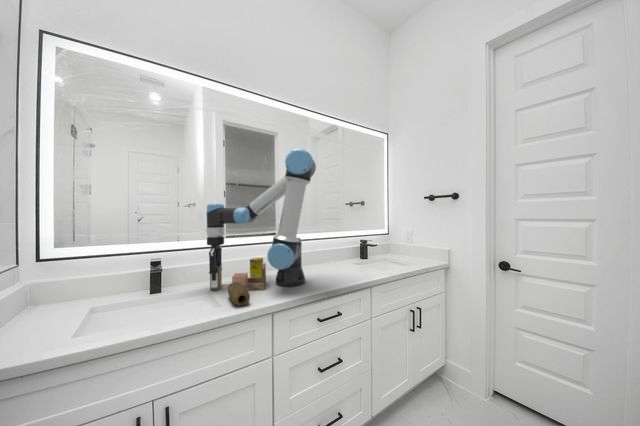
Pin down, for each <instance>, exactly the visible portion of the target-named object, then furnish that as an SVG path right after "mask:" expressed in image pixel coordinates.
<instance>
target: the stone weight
mask: <svg viewBox="0 0 640 426" xmlns="http://www.w3.org/2000/svg"><path fill="white" fill-rule="evenodd" d="M229 284H230V285H229V286H227V287H228V288H227V294H228V296H229V298H230V300H231V301H232V303H234V305H236V306H244V305H247V304H248V303H249V302H250V299H251V298H250V297H251V296H250V291H247V289H246V288H245V287H244V286H243V285H242V284H241V283H239V282H233V283H232V282H231V283H229Z"/></svg>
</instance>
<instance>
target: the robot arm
mask: <svg viewBox="0 0 640 426" xmlns="http://www.w3.org/2000/svg"><path fill="white" fill-rule="evenodd" d="M284 162H285V164H284V165H285V168H286V170H285V175H284V176H282V177H281V178H280V179H279V180H278V181H276V182H275V183H274V184H273V185H271V186H270V187H269V188H268V189H266V190H265V191H264V192H262V193H261V194H259V196H257V197H256V198H255V199H254V200H252V202H250V203H249V204H248V205H246V206H245V207H225V205H224V203H208V204H207V206H206V213H205V214H206V229H205V232H206V236H207V237H206V245H207V246H211V247H210V250H209V251H208V257H209V260H208V261H209V264H208V265H209V272H208V275H210V274H211V288H215V287H218V273H217V267H218V266H221V268H223V267H222V250H223V247H221V246H222V245H224V244H225V224H226V225H227V224H230V225H231V224H236V225H242V224H251V223H253V222H254V221H256V220H257V218H258V217H259V216H260V215H261V214H262V213H264V212H265V211H267V209H269V208H270V207H271V206H272V205H274V204H275V203H276V202H278V201H279V200H280V199H281V198H283V197H284V198H283V203H282V209H281V214H280V219H279V220H280V221H279V224H278V228H277V229H278V230H277V233H276V234H275V235H274V236H273V238H272V239H273V240H272V242H271V243H272V244H271V246H270V247H269V249H268V251H267V256H266V257H267V262H269V265H270V266H271V267H273V268H274V269H276V270H277V273H276V277H275V284H276V285H277V286H280V287H295V286H296V287H297V286H301V285H304V284H305V283H306V277H305V276H306V275H305V273H304V270H303V268H302V267H303V266H302V259H303V257H302V245H303V243H302V239H301V237H297V234H298V230H299V229H298V228H299V225H300V224H299V223H300V218H301V213H302V209H303V203H304V198H305V193H306V188H307V185H309V184H310V183H311V179H312V177H313V176H314V174H315V172H316V169H317V167H316V166H317V165H316V161H315V160H314V159H313V157H312V154H311V153H310V152H309V151H307V150H306V149H304V148H293V149H292V150H290V151H289V152H288V153H287V155H286V157H285V159H284Z"/></svg>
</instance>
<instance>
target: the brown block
mask: <svg viewBox="0 0 640 426" xmlns="http://www.w3.org/2000/svg"><path fill="white" fill-rule="evenodd" d="M222 271H223V267H221V266H218V267H217V273H218V287H215V288H211V274H209V275H210V276H209V285H210V286H209V291H220V290H221V289H222V288H223V287H229V285H230V284H231V283H233V282H239V283H241V284H248V278H249V277H248V274H249V273H248V272H240V273H239V272H236V273H234V274H233V275H232V277H231V283H227V284H226V283H225V284H222V282H223V281H222V280H223V279H222V278H223V277H222V276H223V275H222Z"/></svg>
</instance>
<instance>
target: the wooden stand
mask: <svg viewBox="0 0 640 426" xmlns="http://www.w3.org/2000/svg"><path fill="white" fill-rule="evenodd" d="M266 265H267V264H266V262H263V267H262V277H257V278H250V277H248V284H242V285H243V286H244V287H245V288H246V289H247V291H248V292H250V291H265V288H266V284H267V272H266V271H267V267H266Z"/></svg>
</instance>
